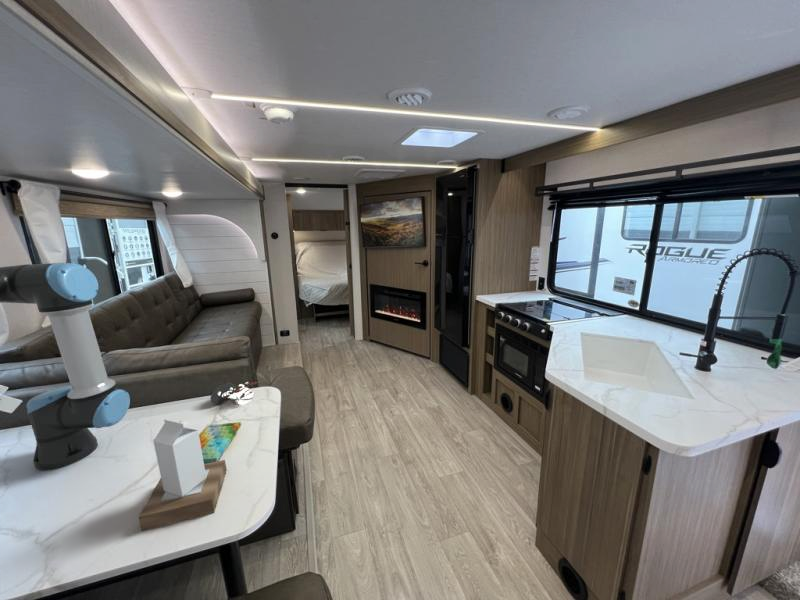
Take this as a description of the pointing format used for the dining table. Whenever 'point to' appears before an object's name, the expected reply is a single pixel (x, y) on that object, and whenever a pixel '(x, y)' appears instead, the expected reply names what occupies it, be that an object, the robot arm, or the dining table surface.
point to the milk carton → (179, 457)
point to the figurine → (232, 393)
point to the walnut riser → (184, 500)
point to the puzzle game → (217, 440)
